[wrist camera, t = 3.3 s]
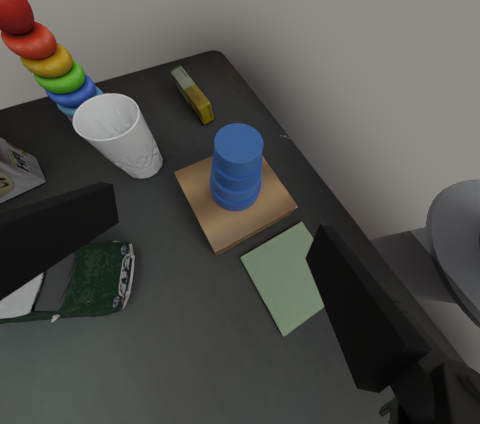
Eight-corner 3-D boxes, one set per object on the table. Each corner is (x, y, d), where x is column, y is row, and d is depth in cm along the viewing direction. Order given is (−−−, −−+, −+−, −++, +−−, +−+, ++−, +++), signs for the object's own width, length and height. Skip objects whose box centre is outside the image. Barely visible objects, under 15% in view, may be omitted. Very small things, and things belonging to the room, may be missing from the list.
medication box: (176, 89, 37) (168, 69, 34) (187, 84, 38) (180, 64, 34) (203, 125, 34) (198, 108, 30) (215, 119, 35) (211, 101, 31)
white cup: (113, 178, 30) (59, 134, 20) (130, 142, 32) (89, 88, 23) (158, 185, 30) (125, 145, 20) (171, 149, 32) (148, 98, 23)
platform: (289, 215, 29) (298, 206, 26) (216, 255, 26) (214, 253, 23) (248, 154, 33) (251, 139, 29) (180, 184, 30) (173, 171, 26)
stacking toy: (73, 138, 32) (-124, -29, 14) (88, 107, 34) (-62, -68, 17) (117, 142, 32) (-22, -17, 14) (128, 110, 35) (23, -57, 17)
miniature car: (136, 308, 23) (92, 326, 16) (-10, 321, 22) (-136, 348, 14) (143, 243, 26) (109, 231, 19) (14, 251, 25) (-80, 242, 17)
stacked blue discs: (267, 198, 26) (290, 156, 16) (225, 220, 24) (223, 187, 15) (243, 162, 28) (251, 105, 18) (203, 180, 26) (188, 128, 17)
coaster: (346, 288, 26) (348, 289, 26) (282, 336, 23) (283, 337, 23) (300, 222, 29) (301, 221, 29) (239, 257, 26) (240, 257, 26)
